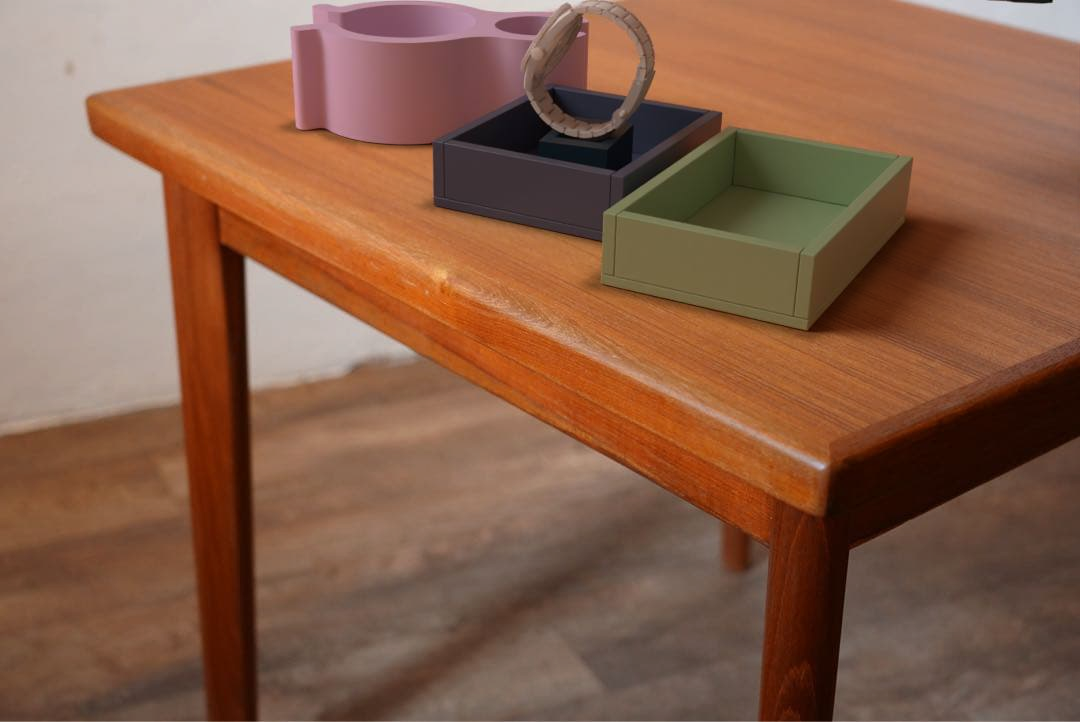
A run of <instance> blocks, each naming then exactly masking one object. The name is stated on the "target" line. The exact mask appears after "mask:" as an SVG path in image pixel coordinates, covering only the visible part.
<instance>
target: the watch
mask: <svg viewBox="0 0 1080 722" xmlns="http://www.w3.org/2000/svg"><path fill="white" fill-rule="evenodd" d="M552 13H553V14H552V16H551V17H550V18H549V19H548V21H547V22H546V23H545V24H544V26H543V27H542V28H541V30H540V31H539V33H538V34H537V36H536V37H535V39H534V40H533V42H532V44H531V45H530V47H529V49H528V50H527V52H526V54H525V56H524V58H523V61H522V64H521V68H520V70H521V71H522V72H523V73H525V78H524V89H525V90H526V93H527V96H528V98H529V100H530V101H531V105H532V106H533V108H534V110H535V111H536V112H537V114H540V113H541V114H540V115H539V116H540V117H541V119H542V120H543V121H544V122H546V123H547V124H548V125H551V127H552V128H553V130H551V131H550V132H549V133H548V134H547V135H545V136H544V137H543V138H542V139H541V140H539V157H545V158H550V159H555V160H560V161H566V162H571V163H576V164H581V165H587V166H592V167H597V168H602V169H608V170H613V171H616V172H617V171H619V170H620V169H622V168H623V167H625V166H626V165H628V164H630V163H631V162H632V149H633V127H634V124H629V123H625V122H626V121H627V120H628V119H629V118H630V117H631V116H632V115H633V113H634V112H635V111H636V110H637V108H638V107H639V106H640V104H641V103H642V101H643V99H646V96H647V95H648V92H649V90H650V88H651V85H652V83H653V80H654V78H655V76H656V70H654V69H655V64H656V62H655V60H656V59H655V58H656V54H655V49H654V44H653V41H652V37H651V36H650V34H649V33H648V30H647V28H646V27H645V25H644V24H643V23H642V21H641V20H639V18H638V17H637V16H636V15H635V14H634V13H633V12H632V11H630V10H627V8H626V7H624V6H623V5H620V4H618V3H616V2H614V3H613V2H612V1H609V0H583V1H581V2H580V3H578V4H576V5H574V6H573V7H572V5H571V3H569V2H565V3H563V4H561V5H560V6H559V7H558V8H557V9H555V11H554V12H552ZM584 14H590V15H595V16H601V17H602V18H604V19H608V20H609V21H611V22H614V23H615V24H616V25H617V26H618V27H620V29H622V30H623V31H625V32H626V34H627V35H628V36H629V38H630V39H631V41H632V42H633V43H634V47H635V48H636V50H637V54H638V55H639V56H640V57H639V63H638V64H637V67H636V73H635V77H634V79H633V80H632V84H631V85H630V88H629V91H628V93H627V95H626V96H627V97H626V99H625V101H624V102H623V104H622V106H621V107H620V108H619V109H617V110H616V111H615V112H614V113H613V115H612V117H613V118H612V119H611V121H605V120H597V119H588V118H580V117H572V116H569V115H567V114H565V113H564V114H563V111H562V110H561V109H560V108H559V107H558V106H557V105H556V104H552V103H553V100H552V98H551V97H550V95H549V93H548V92H547V91H545V90H546V86H545V84H544V81H546V80H547V78H548V77H549V74H550V73H551V72H552V71H553V70H554V68H555V67H556V66H557V65H558V64H559V62H560V61H561V60H562V58H563V57H564V56H565V54H566V53H567V51H568V50H569V48H570V47H571V45H572V44H573V42H574V40H575V39H576V37H577V35H578V33H579V31H580V29H581V26H582V21H583V18H584ZM541 99H542V100H541ZM540 100H541V101H540ZM539 101H540V102H539ZM551 111H552V112H551ZM550 112H551V113H550ZM548 113H549V114H548ZM562 114H563V115H562Z"/></svg>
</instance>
